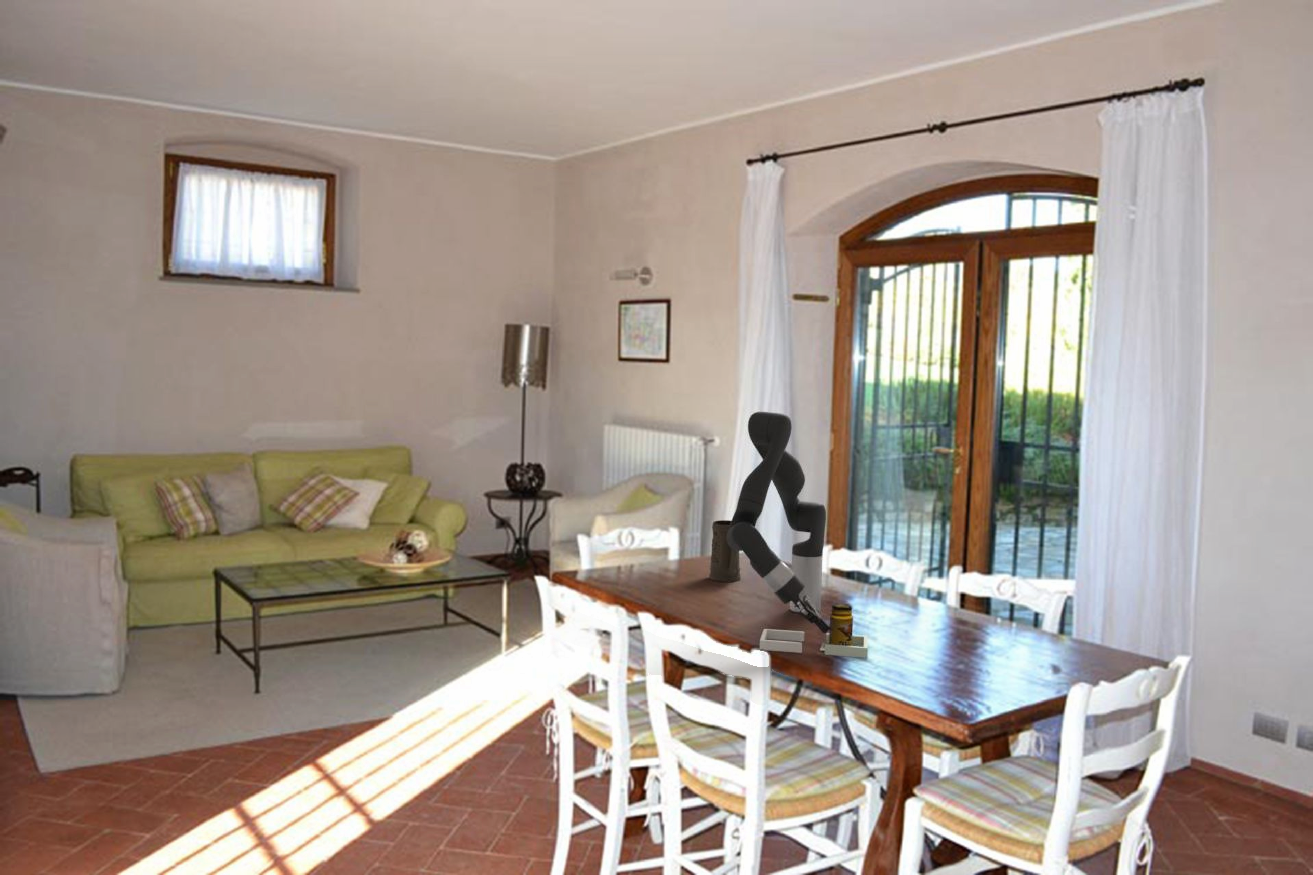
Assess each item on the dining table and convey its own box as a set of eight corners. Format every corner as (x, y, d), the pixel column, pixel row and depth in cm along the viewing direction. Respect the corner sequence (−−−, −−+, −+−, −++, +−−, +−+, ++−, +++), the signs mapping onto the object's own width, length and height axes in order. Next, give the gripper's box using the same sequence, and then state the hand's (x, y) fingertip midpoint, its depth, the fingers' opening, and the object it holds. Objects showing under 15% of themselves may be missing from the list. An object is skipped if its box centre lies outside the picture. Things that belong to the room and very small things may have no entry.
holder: (763, 637, 306) (764, 628, 306) (803, 640, 304) (804, 631, 304) (759, 649, 294) (759, 640, 294) (801, 652, 292) (801, 643, 292)
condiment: (852, 653, 292) (853, 608, 291) (819, 650, 294) (821, 606, 293) (854, 646, 299) (855, 602, 298) (822, 643, 301) (824, 600, 300)
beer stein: (702, 575, 386) (706, 519, 383) (730, 573, 391) (733, 518, 388) (723, 588, 373) (727, 529, 370) (751, 585, 377) (755, 528, 374)
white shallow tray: (826, 642, 303) (826, 633, 303) (867, 645, 301) (867, 636, 301) (824, 654, 291) (825, 645, 291) (867, 657, 289) (867, 648, 289)
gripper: (791, 577, 291) (837, 627, 289) (795, 568, 303) (838, 616, 302) (770, 596, 292) (815, 646, 291) (774, 586, 305) (818, 633, 304)
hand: (827, 630), depth 296 cm, fingers closed
